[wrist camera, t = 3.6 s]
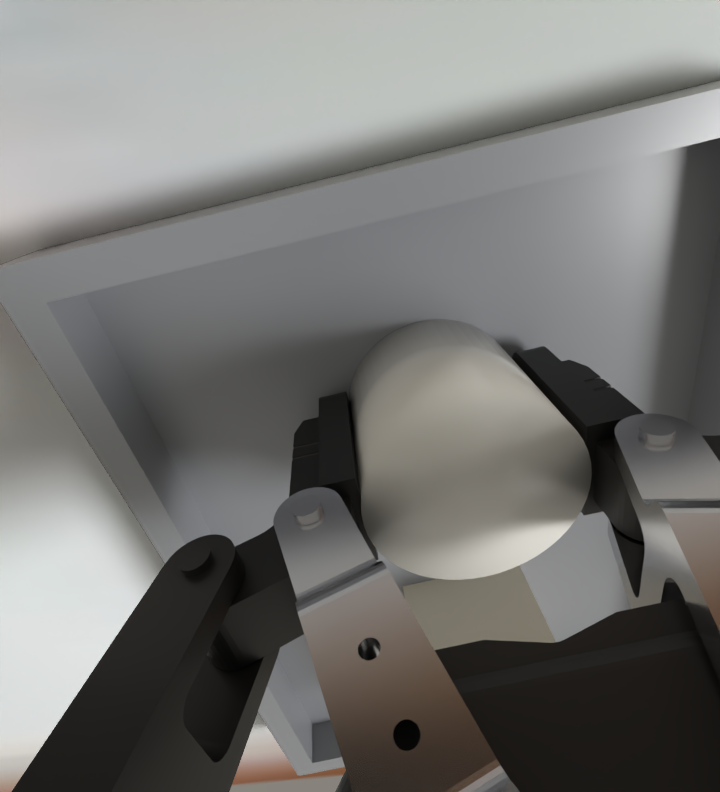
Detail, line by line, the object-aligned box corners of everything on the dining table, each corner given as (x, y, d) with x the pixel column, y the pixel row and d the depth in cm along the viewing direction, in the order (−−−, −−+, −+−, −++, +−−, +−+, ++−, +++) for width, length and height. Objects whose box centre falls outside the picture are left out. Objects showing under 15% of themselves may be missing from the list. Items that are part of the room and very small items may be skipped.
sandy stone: (402, 586, 16) (426, 712, 12) (517, 561, 16) (575, 682, 12) (423, 667, 18) (448, 792, 15) (523, 647, 18) (572, 768, 14)
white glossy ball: (330, 342, 11) (336, 432, 8) (508, 300, 11) (595, 372, 8) (367, 479, 13) (385, 598, 10) (516, 445, 13) (588, 554, 10)
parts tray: (38, 249, 10) (-19, 271, 8) (759, 70, 10) (857, 53, 8) (299, 721, 20) (298, 776, 19) (658, 648, 20) (690, 697, 18)
